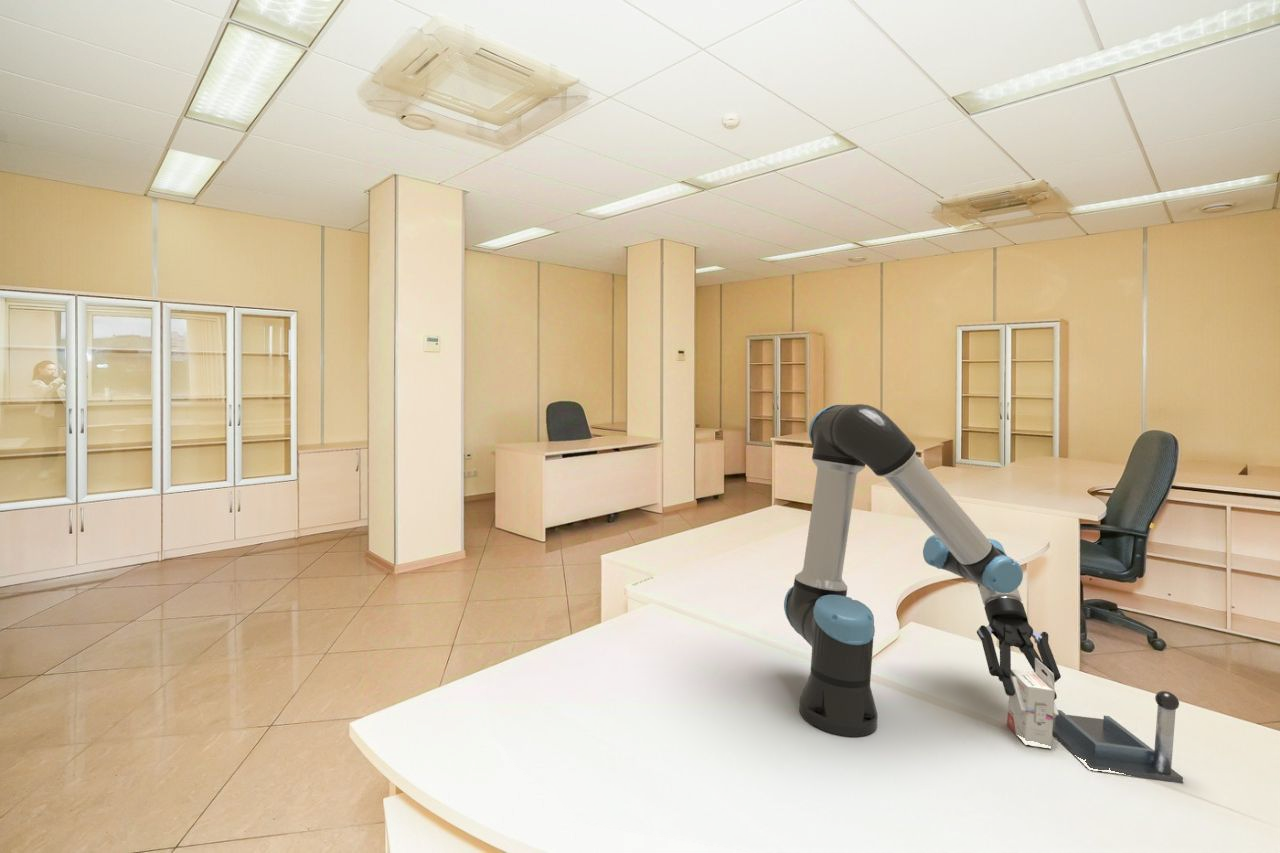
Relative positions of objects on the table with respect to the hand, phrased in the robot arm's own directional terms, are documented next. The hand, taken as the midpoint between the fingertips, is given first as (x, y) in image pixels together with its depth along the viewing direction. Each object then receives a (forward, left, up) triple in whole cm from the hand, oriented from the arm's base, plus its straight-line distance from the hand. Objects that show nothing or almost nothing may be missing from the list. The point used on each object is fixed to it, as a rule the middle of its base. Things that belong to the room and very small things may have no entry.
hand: (1037, 714), depth 112 cm
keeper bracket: (+13, +3, -6) cm, 14 cm away
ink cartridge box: (0, +3, -6) cm, 7 cm away
